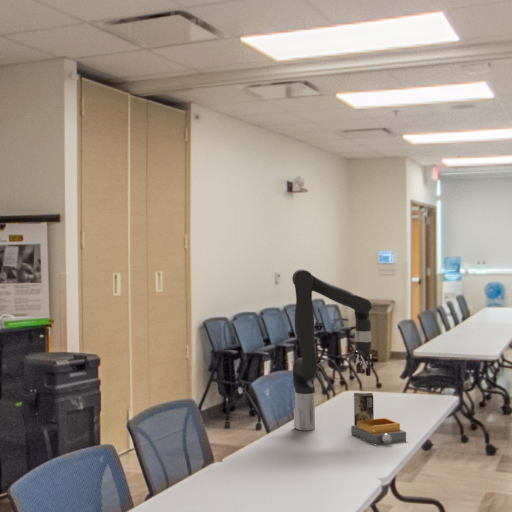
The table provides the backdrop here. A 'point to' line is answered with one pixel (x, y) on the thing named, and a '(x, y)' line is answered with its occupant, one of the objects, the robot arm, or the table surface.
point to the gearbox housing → (379, 431)
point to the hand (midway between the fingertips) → (363, 374)
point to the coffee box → (363, 407)
